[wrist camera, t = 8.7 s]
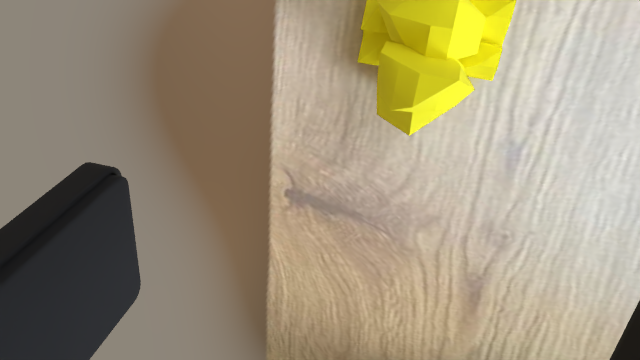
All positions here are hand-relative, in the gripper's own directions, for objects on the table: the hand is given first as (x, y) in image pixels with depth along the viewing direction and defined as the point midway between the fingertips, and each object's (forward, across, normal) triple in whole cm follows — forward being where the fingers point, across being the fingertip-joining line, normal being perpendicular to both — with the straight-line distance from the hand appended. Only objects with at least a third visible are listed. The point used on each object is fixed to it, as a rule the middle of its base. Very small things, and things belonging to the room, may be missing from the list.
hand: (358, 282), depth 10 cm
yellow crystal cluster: (+18, 0, 0) cm, 18 cm away
